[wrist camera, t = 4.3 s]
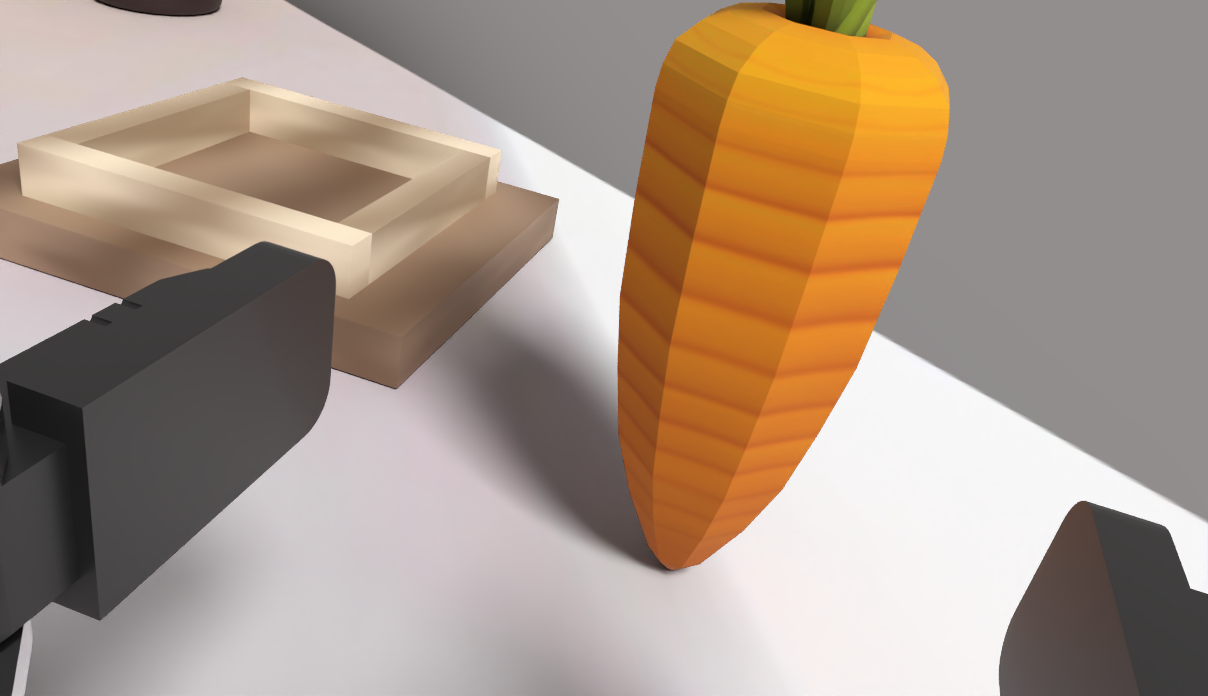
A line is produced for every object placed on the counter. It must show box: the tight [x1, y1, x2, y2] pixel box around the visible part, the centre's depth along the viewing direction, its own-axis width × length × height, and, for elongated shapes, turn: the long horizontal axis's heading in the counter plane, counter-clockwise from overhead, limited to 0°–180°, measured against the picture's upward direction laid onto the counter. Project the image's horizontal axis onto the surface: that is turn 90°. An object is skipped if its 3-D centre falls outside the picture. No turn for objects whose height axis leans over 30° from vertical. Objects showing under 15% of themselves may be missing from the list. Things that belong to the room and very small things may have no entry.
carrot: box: [618, 0, 950, 570], centre depth 17 cm, size 5×5×15 cm
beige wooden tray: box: [0, 78, 559, 389], centre depth 30 cm, size 14×12×3 cm
